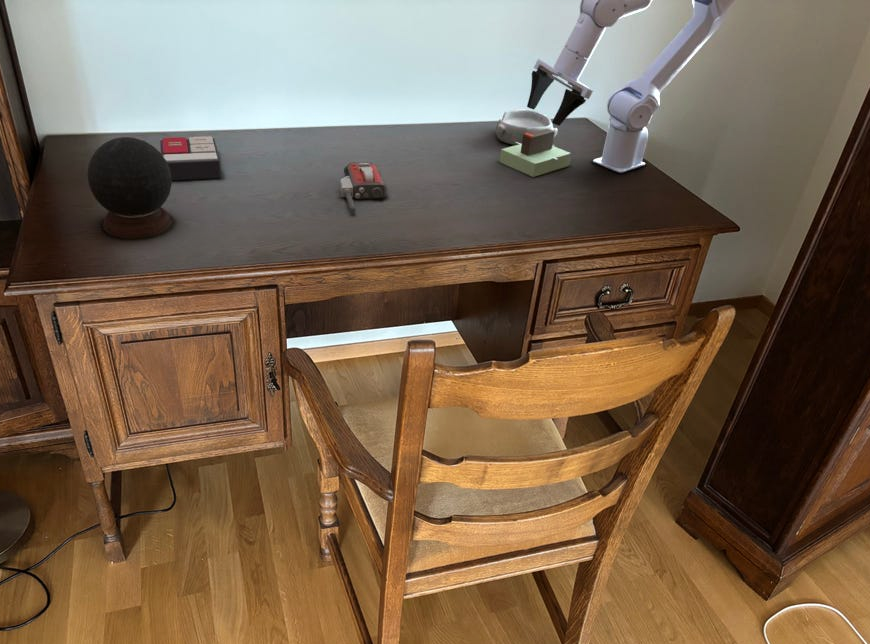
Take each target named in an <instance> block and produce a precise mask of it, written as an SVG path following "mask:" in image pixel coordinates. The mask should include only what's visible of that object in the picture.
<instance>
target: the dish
mask: <svg viewBox="0 0 870 644" xmlns="http://www.w3.org/2000/svg"><path fill="white" fill-rule="evenodd" d="M552 122H553V121H552V120H551V118H550V117H549V116H547V115H546V114H544V113H542V112H539V111H536V110H533V109H509V110H505V111H504V113H503V116H502V118H500V119H498V121H497V124H496V127H495V131H496V132H495V133H496V137H497V138H498V140H500V141H501V142H503V143H505V144H508V145H509V144H510V145H512V146H515V145H519V144H517V143H515V142H518V143H520V144H522V140H523V135H524V134H525V133H532V132H536V131H540V130H544V129H550V130H552V131H555V133H554V138H556V136H557V135H558V128H557V127H554V126H553V123H552Z"/></svg>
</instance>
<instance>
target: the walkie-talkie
mask: <svg viewBox="0 0 870 644" xmlns="http://www.w3.org/2000/svg"><path fill="white" fill-rule="evenodd" d="M343 173H344V177H343V178H341V179H340V182H339V188H340V195H341V197H342V198H346V201H347V204H348V208H349V210H350V211H352V212H355V211H356V206H355V203H354V201H353V198H354V199H356V200H365V199H366V200H368V199H369V200H372V199H373V200H374V199H384V198H386V196H387V184H386V181H385V180H384V177H383V175H382V172H381V170H380V168H379V166H378V164H376V163H374V162H372V161H358V162H357V161H354V162H350V163H348V164H346V166H344V168H343Z"/></svg>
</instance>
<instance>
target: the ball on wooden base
mask: <svg viewBox="0 0 870 644" xmlns="http://www.w3.org/2000/svg"><path fill="white" fill-rule="evenodd" d="M87 166H88V167H87V183H88V186H89V190H90V191H91V193H92V195H93V197H94V198H95V200H96V201H97V202H98V203H99V204H100V206H101V207H103V208H104V209H106V211H108V212H107V213H106V215H105V217H104V218H103V219H102V226H103V230H104V231H105V232H106V233H107V234H109V235H110V236H113V237H115V238H120V239H127V240H128V239H129V240H131V239H132V240H135V239H137V240H138V239H144V238H150V237H154V236H158V235H160V234H163V233H164V232H166V231H167V230H169V228H170V227H171V225H172V217H171V215H170V213H169V212H167V210H166V209H164V207H163V205H165V203H166V202H167V200H168V198H169V195H170V193H171V190H172V184H173V183H172V180H171V173H170V168H169V166H168V164H167V161H166V160H165V158H164V157H163V156H162V154H161V151H159V150H158V149H157V148H156V146H154V145H152V144H150V143H149V142H147V141H145V140H142V139H140V138H136V137H129V136H123V137H115V138H113V139H110V140H108V141H106V142H104V143H103V144H101V145H100V146H99V147H98V148H97V149H96V150H95V151H94V153H93V154H92V156H91V157H90V159H89V163H88V165H87Z"/></svg>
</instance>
